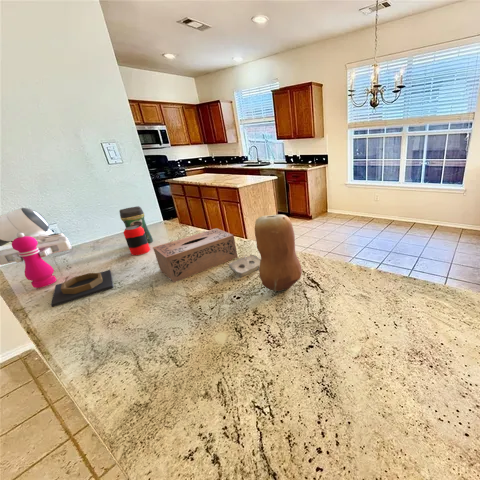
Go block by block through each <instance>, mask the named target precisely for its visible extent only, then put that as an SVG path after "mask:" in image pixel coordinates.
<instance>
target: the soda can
mask: <svg viewBox="0 0 480 480" xmlns="http://www.w3.org/2000/svg"><path fill="white" fill-rule="evenodd" d="M122 233H123V235H124V239H125V241H126V244H127V247H128V250H129V252H130V255H131V256H142V255H144V254H147V253H149V252H150V250H151V247H150V245H149V244H150V243H148V241H147V238H146V235H145V232H144V229H143V228H142V227H140V226H131V227H127V228H126V227H125V228H124V230H123V232H122Z"/></svg>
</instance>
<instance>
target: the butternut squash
mask: <svg viewBox="0 0 480 480" xmlns="http://www.w3.org/2000/svg"><path fill="white" fill-rule="evenodd" d="M254 236H255V242H256V249H257V251H258V253H259V255H260V259H261V261H260V267H259V269H258V270H259V271H258V273H259V279H260V281H261V284H262V286H264V287H265V288H267V289H269V290H270V291H274V292H282V291H284V290H286V291H287V290H289V289H291V288H292V287H293V286H294V285H295V284H296V283H297V282H298V281H299V280H300V279H301V277H302V274H303V268H302V265H301V262H300V259H299V258H298V255H297V252H296V238H295V237H296V236H295V230H294V227H293V222H292V221H291V219H290V217H288V216H287V215H286V214H270V215H262V216H260V217H258V218H256V220H255V222H254Z"/></svg>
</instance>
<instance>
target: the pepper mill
mask: <svg viewBox="0 0 480 480" xmlns="http://www.w3.org/2000/svg"><path fill="white" fill-rule="evenodd" d="M16 236H17V237H18V238H16V239H14V240H12V241H11V248H13V249H15V250H17V251H19V252H18V254H19V256H21V257H22V258H23V259H24V260H23V262H24V277H25V278H26V280H28V281H31V282H30V284H31V286H32V287H33V288H35V289H38V288H44V287H47V286H50V285H52V284H54V283H55V282H57V278H56V276H55V275H54V272H55V270H54V268H53V266H52V265H51V264H49V263H48V262H47V261H45V260H44V259H43V257H40V255H39V249H38V248H37V247H36V246H37V244H38V243H37V240H36V239H35V238H33V237H30V236H24V234H23V233H17V235H16Z"/></svg>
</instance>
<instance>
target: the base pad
mask: <svg viewBox="0 0 480 480" xmlns="http://www.w3.org/2000/svg"><path fill="white" fill-rule="evenodd" d="M111 289H114V283H113V277H112V272H111V269H108V270H104V271H101V272H88V273H84V274H81V275H76V276H73V277H72V278H70V279H67V280H66V281H64V282H61V283H58V284H55V287H54V289H53V290H54V291H53V295H52V299H51V302H50V306H51V308H54V307H57V306H60V305H64V304H66V303H70V302H73V301H76V300H79V299H83V298H86V297H89V296H92V295H95V294H99V293H102V292H105V291H108V290H111Z"/></svg>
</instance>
